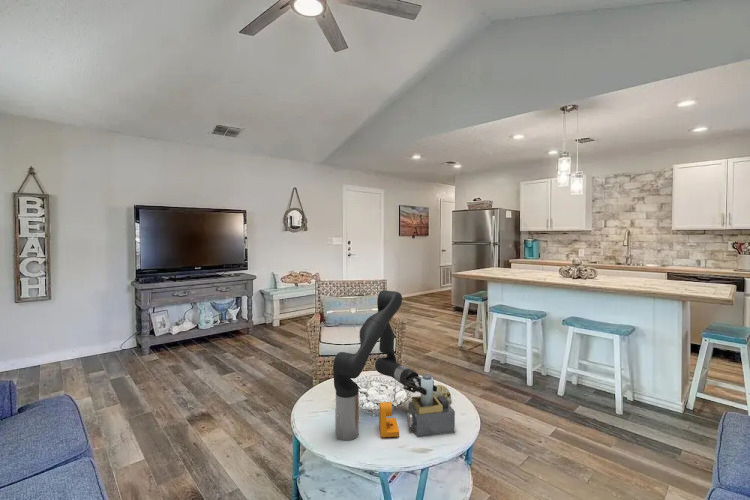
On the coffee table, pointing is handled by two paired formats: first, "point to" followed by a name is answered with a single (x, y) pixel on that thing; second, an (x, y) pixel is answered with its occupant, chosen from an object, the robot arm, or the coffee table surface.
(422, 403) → the bottle
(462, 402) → the coffee table surface
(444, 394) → the seashell
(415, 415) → the grey block with frame
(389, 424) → the bracket
